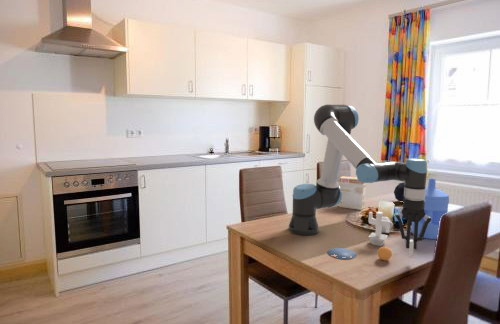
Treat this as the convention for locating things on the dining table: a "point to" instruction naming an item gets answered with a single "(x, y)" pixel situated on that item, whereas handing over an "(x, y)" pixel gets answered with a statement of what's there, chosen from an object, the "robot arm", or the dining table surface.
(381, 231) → the die
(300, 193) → the robot arm
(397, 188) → the decorative orb
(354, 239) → the dining table surface
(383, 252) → the ball
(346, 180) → the coffeecake box
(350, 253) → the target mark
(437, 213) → the water jug
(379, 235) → the figurine
